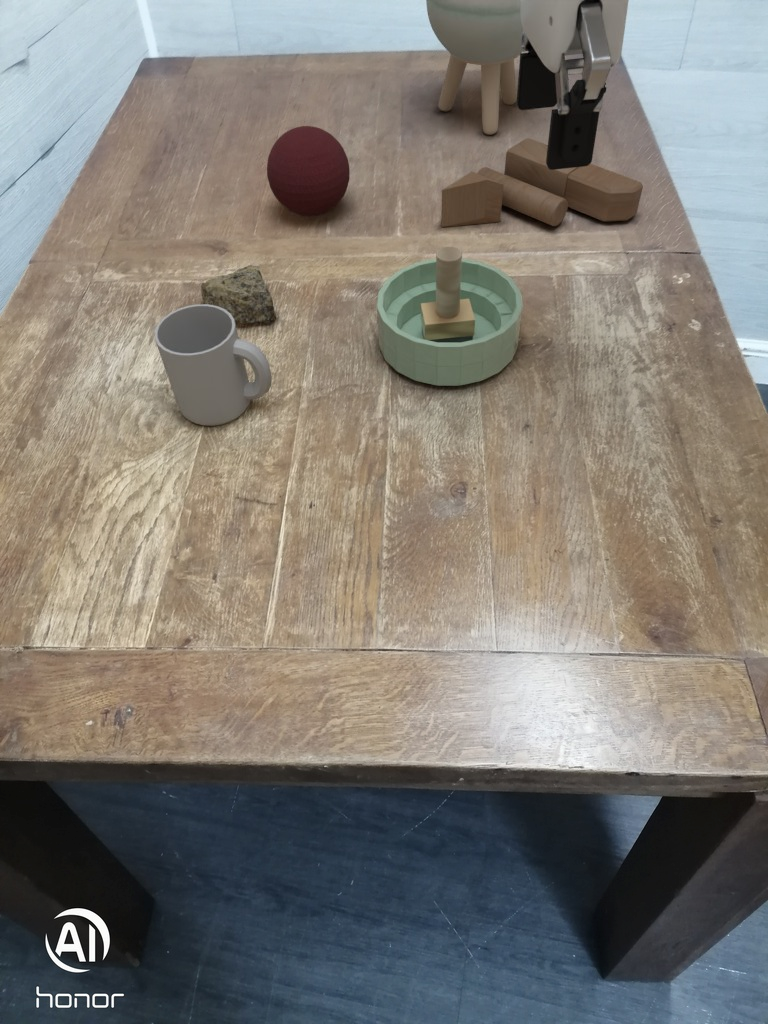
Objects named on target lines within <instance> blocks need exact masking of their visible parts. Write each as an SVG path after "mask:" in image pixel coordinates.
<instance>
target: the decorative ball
mask: <svg viewBox="0 0 768 1024" xmlns="http://www.w3.org/2000/svg"><path fill="white" fill-rule="evenodd" d="M350 174H351V173H350V164H349V159H348V156H347V153H346V151H345V149H344V147H343V145H342V144H341V143H340V141H339V140H338V139H337V138H336V137H335V136H334V135H332V134H331V133H330V132H328V131H327V130H325V129H323V128H320V127H316V126H312V125H301V126H297V127H293V128H291V129H289V130H287V131H285V132H284V133H283V134H282V135H280V136H279V137H278V138H277V139H276V140H275V142H274V143H273V145H272V147H271V149H270V152H269V154H268V156H267V164H266V178H267V181H268V185H269V187H270V190H271V192H272V194H273V196H274V197H275V198H276V200H277V201H278V202H279V204H280V205H282V207H284V208H285V209H286V210H288V211H289V212H292V213H294V214H296V215H299V216H304V217H315V216H320V215H321V216H322V215H325V214H326V213H328V212H330V211H331V210H332V209H334V208H335V207H336V206H337V205H339V203H340V202H341V201H342V199H343V198H344V196H345V194H346V192H347V189H348V186H349V182H350Z"/></svg>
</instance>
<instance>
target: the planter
mask: <svg viewBox="0 0 768 1024" xmlns="http://www.w3.org/2000/svg"><path fill="white" fill-rule="evenodd" d="M425 1H426V3H425V5H426V13H427V17H428V18H427V19H428V21H429V24H430V27H431V29H432V31H433V33H434V35H435V37H436V38H437V40H438V41H439V43H440V44H441V45H442V47H443V48H445V50H446V51H447V52H449V53H448V54H450V55H449V60H448V64H447V67H446V73H445V77H444V80H443V84H442V88H441V92H440V94H439V99H438V103H437V104H438V105H437V106H438V109H439V110H440V111H442V112H449V111H451V110H452V109H453V106H454V103H455V101H456V97H457V94H458V92H459V89H460V86H461V83H462V80H463V77H464V74H465V71H466V68H467V65H468V64H469V65H476V66H477V65H478V66H480V82H481V83H480V84H481V85H480V87H481V88H480V89H481V91H480V92H481V122H482V131H483V133H484V134H486V135H488V136H491V135H494V134H496V133H497V132H498V130H499V118H500V117H499V114H500V109H499V108H500V93H501V98H502V102H503V103H504V104H505V105H510V106H511V105H514V104H516V103H517V90H518V87H517V79H516V65H515V60H516V59H517V58H519V57H520V53H523V51H522V48H521V38H522V33H523V28H522V24H521V17H520V0H425Z"/></svg>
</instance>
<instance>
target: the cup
mask: <svg viewBox="0 0 768 1024" xmlns="http://www.w3.org/2000/svg"><path fill="white" fill-rule="evenodd" d="M154 340H155V344H156V347H157V349H158V353H159V355H160V359H161V362H162V364H163V368H164V370H165V373H166V376H167V378H168V382H169V385H170V387H171V391H172V394H173V396H174V399H175V403H176V404H177V407H178V409H179V411H180V413H181V415H182V416H183V417H184V418H185V419H187V420H188V421H190V422H192V423H194V424H196V425H199V426H204V427H215V426H220V425H225V424H227V423H231V422H232V421H234V420H236V419H237V418H239V417H240V416H241V415H242V414H243V413H244V412H245V411H246V409H247V408H248V406H249V404H250V403H251V400H257V399H260V398H261V397H263V396H264V395H266V394H267V393H268V392H269V391H270V389H271V387H272V379H273V378H272V377H273V376H272V372H271V367H270V362H269V360H268V358H267V356H266V355H265V353H264V352H263V351H262V349H261V348H260V347H258V346H257V345H256V344H255V343H253V342H251V341H248V340H246V339H241V338H239V334H238V329H237V325H236V321H235V320H234V318H233V317H232V315H231V314H230V313H229V312H228V311H227V310H225V309H223V308H221V307H218V306H214V305H209V304H204V303H203V304H202V303H199V304H190V305H186V306H183V307H180V308H177V309H175V310H173V311H171V312H170V313H168V314H166V315H165V316H164V317H163V318H162V319H161V320H160V321H159V322H158V324H157V325H156V327H155V330H154ZM245 361H247V362H248V364H249V365H250V367H251V369H252V371H253V374H254V381H253V382H252V381H250V380H249V377H248V373H247V368H246V363H245Z"/></svg>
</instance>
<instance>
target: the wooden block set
mask: <svg viewBox="0 0 768 1024" xmlns="http://www.w3.org/2000/svg"><path fill="white" fill-rule="evenodd" d="M547 148H548V144H545V143H544V142H541V141H538V140H535V139H533V138H529V137H528V138H525V139H523V140H521V141H520V142H518V143H516V144H515V145H513V146H512V147H510V148H508V149H507V150H506V152H505V161H504V163H505V164H504V172H502V173H501V172H500V171H497V170H495V169H493V168H491V167H487V166H485V167H482V168H480V169H479V170H478V171H477V172H474V171H470V172H469V173H467V174H465V175H464V176H462V177H461V178H459V179H457V180H455V181H454V182H452V183H451V184H449V185H448V186H446V187H444V188H443V189H441V211H440V212H441V214H440V215H441V216H440V217H441V218H440V228H447V227H457V226H459V227H460V226H470V225H481V224H492V223H500V222H501V219H502V218H501V217H502V208H503V207H502V206H505V207H507V208H509V209H511V210H514V211H516V212H519V213H521V214H523V215H526V216H528V217H531V218H533V219H535V220H538V221H540V222H542V223H545V224H547V225H549V226H552V227H557V226H558V225H560V224H561V223H562V221H563V220H564V219H565V217H566V215H567V211H568V208H569V209H572V210H575V211H577V212H580V213H582V214H584V215H587V216H589V217H592V218H594V219H597V220H598V221H601V222H623V221H624V222H625V221H628V220H629V219H631V218H632V217H634V216H635V215H636V214H637V213H638V209H639V206H640V201H641V196H642V193H643V188H644V185H643V183H642V182H641V181H638V180H636V179H634V178H631V177H628V176H625V175H622V174H620V173H617V172H615V171H612V170H609V169H607V168H603V167H601V166H598V165H595V164H593V163H590V164H589V165H588V166H583V167H574V168H565V169H555V170H550V169H549V168H548V166H547V164H546V158H547Z"/></svg>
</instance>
